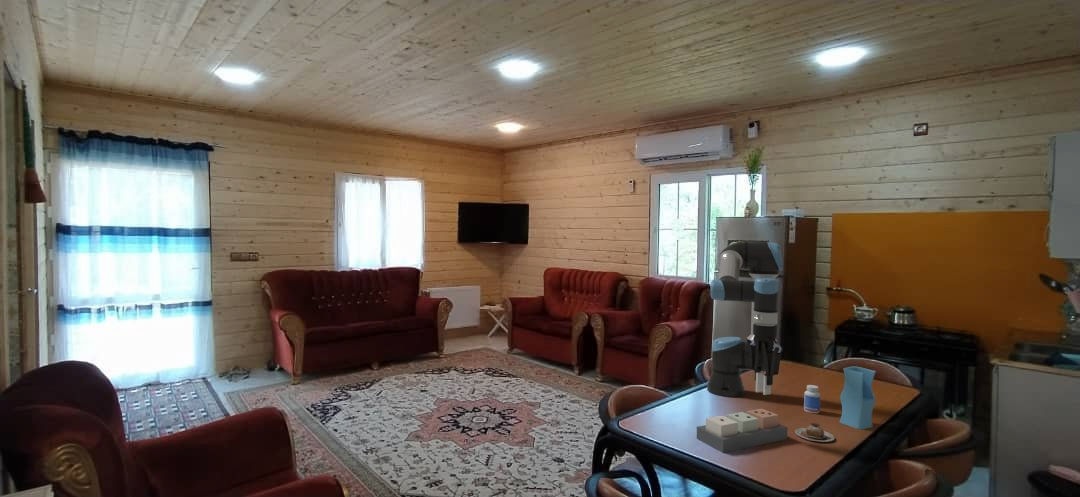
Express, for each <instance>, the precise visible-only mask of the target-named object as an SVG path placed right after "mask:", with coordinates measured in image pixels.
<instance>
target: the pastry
mask: <svg viewBox="0 0 1080 497" xmlns="http://www.w3.org/2000/svg"><path fill="white" fill-rule="evenodd" d="M794 433H795V434H796V435H797V436H798V437H799V438H801V439H803V440H806V441H808V442H818V443H822V442H823V443H825V442H826V443H827V442H832V441H834V440H835V436H834V435H833V434H831V433H830V432H827V431H825V430H824V429H823V427H821V426H820V424H819V423H816V422H813V423H810V424H809V426H808V427H799V428H797V429H795V430H794ZM803 433H804V434H805V435H806V436H807V437H805V436H803V435H802V434H803ZM823 439H826V440H823Z"/></svg>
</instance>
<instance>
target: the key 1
mask: <svg viewBox="0 0 1080 497" xmlns="http://www.w3.org/2000/svg"><path fill="white" fill-rule="evenodd" d="M705 425H706V430H708V431H710V432H712V433H714V434H716V435H718V436H720V437H724V436H729V435H734V434H738V422H736V421H734V420H731V419H729V418H727V416H725V415H717V416H712V417H706V418H705Z"/></svg>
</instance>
